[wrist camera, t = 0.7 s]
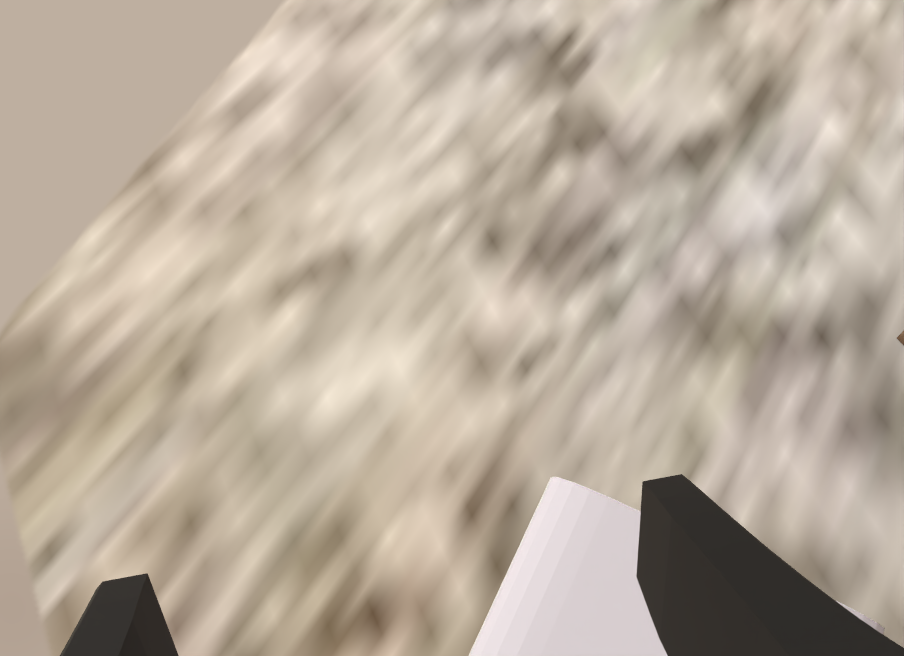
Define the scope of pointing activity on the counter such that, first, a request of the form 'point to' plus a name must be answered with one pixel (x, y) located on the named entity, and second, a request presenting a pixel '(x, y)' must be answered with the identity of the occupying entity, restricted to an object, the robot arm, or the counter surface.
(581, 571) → the charger
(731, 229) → the counter surface
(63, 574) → the counter surface
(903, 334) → the bar
